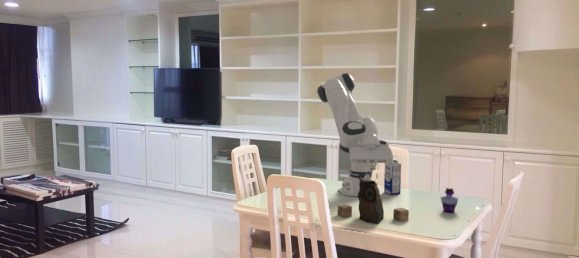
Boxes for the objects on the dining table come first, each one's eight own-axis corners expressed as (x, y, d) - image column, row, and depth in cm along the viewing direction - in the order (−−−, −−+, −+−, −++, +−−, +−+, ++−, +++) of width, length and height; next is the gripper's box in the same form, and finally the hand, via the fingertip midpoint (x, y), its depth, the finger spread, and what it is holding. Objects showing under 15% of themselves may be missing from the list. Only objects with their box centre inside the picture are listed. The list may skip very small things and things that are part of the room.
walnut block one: (337, 215, 227) (337, 205, 226) (345, 214, 229) (345, 203, 229) (343, 217, 222) (343, 207, 222) (351, 216, 225) (351, 206, 224)
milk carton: (383, 192, 274) (384, 159, 272) (393, 191, 277) (393, 158, 275) (391, 195, 268) (391, 161, 266) (400, 193, 270) (401, 160, 268)
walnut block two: (393, 219, 220) (393, 208, 220) (401, 217, 223) (401, 207, 222) (400, 221, 216) (400, 211, 216) (408, 220, 218) (408, 209, 218)
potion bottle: (459, 210, 235) (460, 187, 234) (456, 214, 227) (456, 191, 226) (442, 208, 239) (442, 185, 238) (438, 212, 232) (438, 188, 231)
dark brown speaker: (378, 225, 211) (379, 182, 209) (352, 221, 216) (352, 179, 214) (384, 217, 222) (385, 177, 220) (359, 214, 227) (360, 175, 225)
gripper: (349, 141, 224) (350, 165, 215) (391, 142, 223) (395, 165, 214) (348, 149, 228) (349, 172, 220) (389, 149, 228) (393, 173, 219)
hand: (372, 169), depth 217 cm, fingers closed
